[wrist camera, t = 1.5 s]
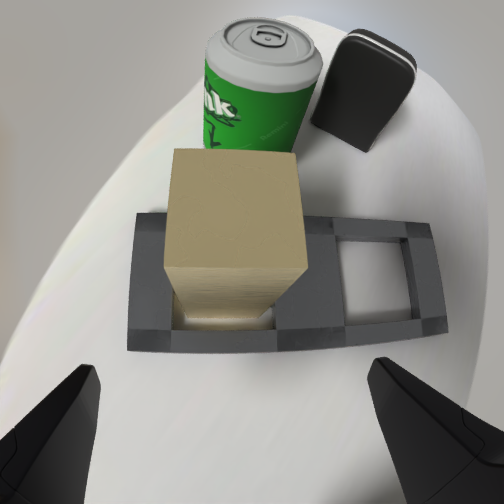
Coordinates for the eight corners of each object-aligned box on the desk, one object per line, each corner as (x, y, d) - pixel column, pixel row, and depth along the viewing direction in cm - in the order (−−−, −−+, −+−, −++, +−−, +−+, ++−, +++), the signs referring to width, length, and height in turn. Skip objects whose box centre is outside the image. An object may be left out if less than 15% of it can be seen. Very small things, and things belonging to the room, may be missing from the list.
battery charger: (376, 135, 30) (426, 57, 20) (367, 157, 29) (423, 74, 18) (318, 103, 31) (353, 17, 20) (305, 122, 29) (341, 29, 19)
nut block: (258, 318, 22) (308, 267, 11) (187, 318, 22) (163, 266, 10) (255, 251, 24) (295, 153, 13) (188, 250, 23) (174, 148, 12)
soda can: (291, 130, 29) (327, 27, 18) (282, 194, 26) (328, 85, 15) (214, 114, 28) (222, 6, 17) (193, 176, 26) (189, 57, 14)
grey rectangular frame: (440, 334, 24) (448, 332, 22) (131, 351, 20) (127, 350, 19) (422, 228, 27) (429, 223, 26) (139, 219, 24) (136, 212, 23)
